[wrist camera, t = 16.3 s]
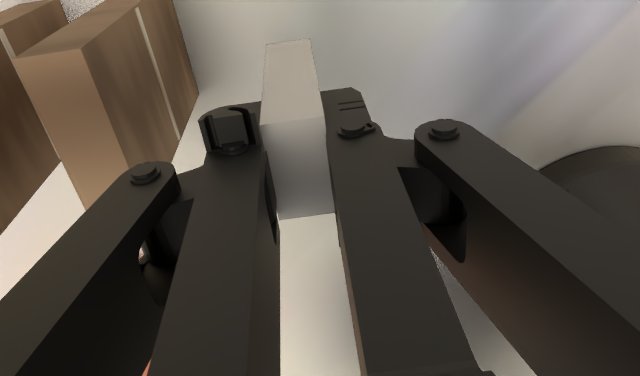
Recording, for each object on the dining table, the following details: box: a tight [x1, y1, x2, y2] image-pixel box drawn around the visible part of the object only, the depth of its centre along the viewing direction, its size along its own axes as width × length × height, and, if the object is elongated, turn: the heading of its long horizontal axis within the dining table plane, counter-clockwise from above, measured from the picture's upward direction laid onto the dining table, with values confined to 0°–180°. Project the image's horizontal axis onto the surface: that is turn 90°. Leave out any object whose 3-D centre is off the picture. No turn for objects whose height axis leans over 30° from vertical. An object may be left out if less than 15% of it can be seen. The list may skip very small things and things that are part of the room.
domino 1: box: [0, 0, 69, 235], centre depth 20 cm, size 6×2×12 cm, turn 8°
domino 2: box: [12, 0, 199, 210], centre depth 20 cm, size 6×2×12 cm, turn 8°
